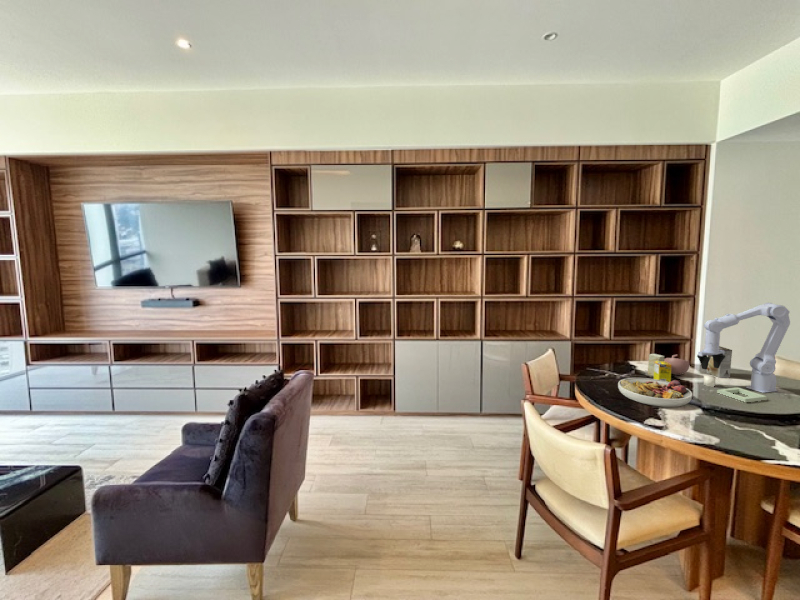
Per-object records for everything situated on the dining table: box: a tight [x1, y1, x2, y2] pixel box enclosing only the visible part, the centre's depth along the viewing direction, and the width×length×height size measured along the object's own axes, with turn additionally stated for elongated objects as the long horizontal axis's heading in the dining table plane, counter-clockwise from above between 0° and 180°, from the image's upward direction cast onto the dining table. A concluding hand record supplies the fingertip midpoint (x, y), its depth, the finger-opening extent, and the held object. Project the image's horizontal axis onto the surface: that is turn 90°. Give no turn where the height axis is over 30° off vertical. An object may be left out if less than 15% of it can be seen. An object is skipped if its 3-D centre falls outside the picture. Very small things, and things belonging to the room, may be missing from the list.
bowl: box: [617, 377, 693, 408], centre depth 181 cm, size 30×30×8 cm
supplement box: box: [653, 361, 672, 382], centre depth 201 cm, size 6×6×11 cm
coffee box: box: [706, 345, 733, 379], centre depth 209 cm, size 9×6×16 cm
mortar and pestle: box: [664, 354, 690, 376], centre depth 213 cm, size 12×12×12 cm
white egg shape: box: [703, 374, 717, 388], centre depth 194 cm, size 5×5×5 cm
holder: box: [716, 386, 768, 402], centre depth 178 cm, size 13×13×2 cm
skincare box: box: [647, 353, 665, 377], centre depth 211 cm, size 6×4×12 cm
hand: (710, 368), depth 193 cm, fingers open, 7 cm apart
